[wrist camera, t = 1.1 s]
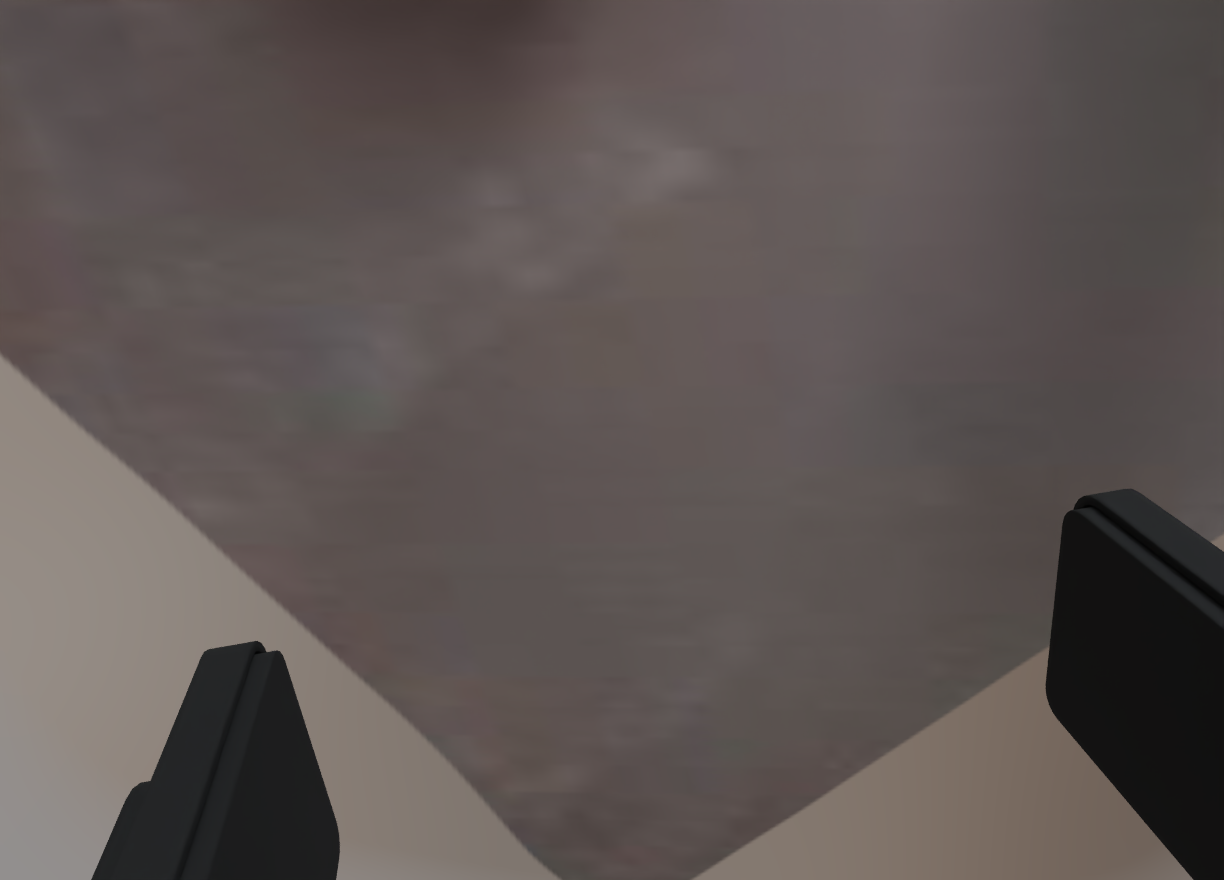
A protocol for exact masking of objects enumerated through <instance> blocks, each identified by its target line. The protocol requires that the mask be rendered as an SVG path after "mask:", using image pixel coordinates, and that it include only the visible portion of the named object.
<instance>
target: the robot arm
mask: <svg viewBox="0 0 1224 880" xmlns="http://www.w3.org/2000/svg"><path fill="white" fill-rule="evenodd" d="M1046 695H1047V699H1048V702H1049V705H1050V708H1051V709H1052V712H1053V713H1054V715H1055V716H1056V718H1057V719H1058V720H1059V721H1060V723H1061V724H1062V725H1063V726H1064V727H1065V728H1066V730H1067V731H1068V732H1069V733H1070V734H1071V736H1072V737H1073V738H1074V739H1075V740H1076V741H1077V742H1078V744H1079V745H1080V746H1081V747H1082V749H1083V750H1084V751H1085V752H1086V753H1087V754H1088V755H1089V757H1090V758H1091V759H1092V760H1093V761H1094V763H1095V764H1096V765H1097V766H1098V767H1099V769H1100V770H1101V771H1102V772H1103V773H1104V774H1105V776H1106V777H1107V778H1108V779H1109V780H1110V782H1111V783H1112V784H1113V785H1114V786H1115V787H1116V789H1117V790H1118V791H1119V792H1120V793H1121V795H1122V796H1123V797H1124V798H1125V799H1126V801H1127V802H1128V803H1129V804H1130V805H1131V806H1132V808H1133V809H1134V810H1135V811H1136V812H1137V814H1139V816H1140V817H1141V818H1142V819H1143V820H1144V822H1145V823H1146V824H1147V825H1148V827H1149V828H1150V829H1151V830H1152V831H1153V832H1154V833H1155V835H1156V836H1157V837H1158V838H1159V839H1160V841H1161V842H1162V843H1163V844H1164V845H1165V847H1166V848H1167V849H1168V850H1169V851H1170V852H1171V854H1172V855H1173V856H1174V857H1175V858H1176V859H1177V861H1178V862H1179V863H1180V864H1181V865H1182V867H1183V868H1184V869H1185V870H1186V871H1187V873H1188V874H1189V875H1190V876H1191V877H1192V878H1193V880H1224V552H1223V551H1222V550H1220V549H1219V548H1217V547H1216V546H1215V545H1213V544H1212V543H1210V542H1209V541H1208V540H1206V539H1205V538H1203V537H1202V536H1200V535H1199V534H1198V533H1196V532H1195V531H1193V530H1192V529H1190V528H1189V527H1188V526H1186V525H1185V524H1183V523H1182V522H1181V521H1179V520H1178V519H1176V518H1175V517H1173V516H1172V515H1171V514H1169V513H1168V512H1166V511H1165V510H1163V509H1162V508H1161V507H1159V506H1158V505H1156V504H1155V503H1153V502H1152V501H1151V500H1149V499H1148V498H1146V497H1145V496H1144V495H1142V494H1141V493H1139V492H1137V491H1135V490H1133V489H1122V490H1116V491H1110V492H1105V493H1099V494H1093V495H1088V496H1083V497H1082V498H1080V499H1078V501H1077V503H1076V504H1075V507H1074V510H1071V511H1069V512H1068V513H1066V515H1065V517H1064V520H1063V525H1062V534H1061V544H1060V553H1059V563H1058V572H1057V582H1056V591H1055V601H1054V610H1053V620H1052V629H1051V639H1050V648H1049V658H1048V667H1047V677H1046ZM339 853H340V842H339V832H338V826H337V823H336V819H335V816H334V813H333V810H332V806H331V803H330V800H329V797H328V794H327V791H326V787H325V784H324V781H323V778H322V775H321V772H320V769H319V766H318V763H317V759H316V756H315V753H314V750H313V747H312V744H311V741H310V738H309V735H308V731H307V728H306V725H305V722H304V719H303V716H302V712H301V709H300V706H299V703H298V700H297V697H296V694H295V691H294V688H293V684H292V681H291V678H290V675H289V672H288V669H287V666H286V663H285V660H284V657H283V655H282V654H281V652H280V651H272V652H266V650H265V648H264V646H263V645H262V644H261V643H260V642H258V641H254V642H248V643H243V644H237V645H231V646H225V647H220V648H214V649H209V650H207V651H205V652H204V654H203V655H202V657H201V659H200V661H199V664H198V667H197V669H196V671H195V673H194V676H193V678H192V681H191V683H190V686H189V688H188V691H187V693H186V696H185V698H184V700H183V703H182V705H181V708H180V710H179V713H178V715H177V718H176V720H175V722H174V725H173V727H172V730H171V732H170V735H169V737H168V740H167V742H166V745H165V747H164V749H163V752H162V755H161V757H160V759H159V762H158V764H157V767H156V769H155V772H154V774H153V776H152V779H151V781H148V782H142V783H140V784H138V785H137V786H136V787H134V788H133V789H132V791H131V792H130V794H129V795H128V797H127V799H126V801H125V803H124V805H123V807H122V810H121V812H120V814H119V817H118V819H117V821H116V824H115V826H114V828H113V831H112V833H111V835H110V838H109V840H108V842H107V845H106V847H105V849H104V852H103V854H102V856H101V859H100V861H99V863H98V866H97V868H96V870H95V872H94V875H93V877H92V879H91V880H336V876H337V869H338V862H339Z"/></svg>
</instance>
